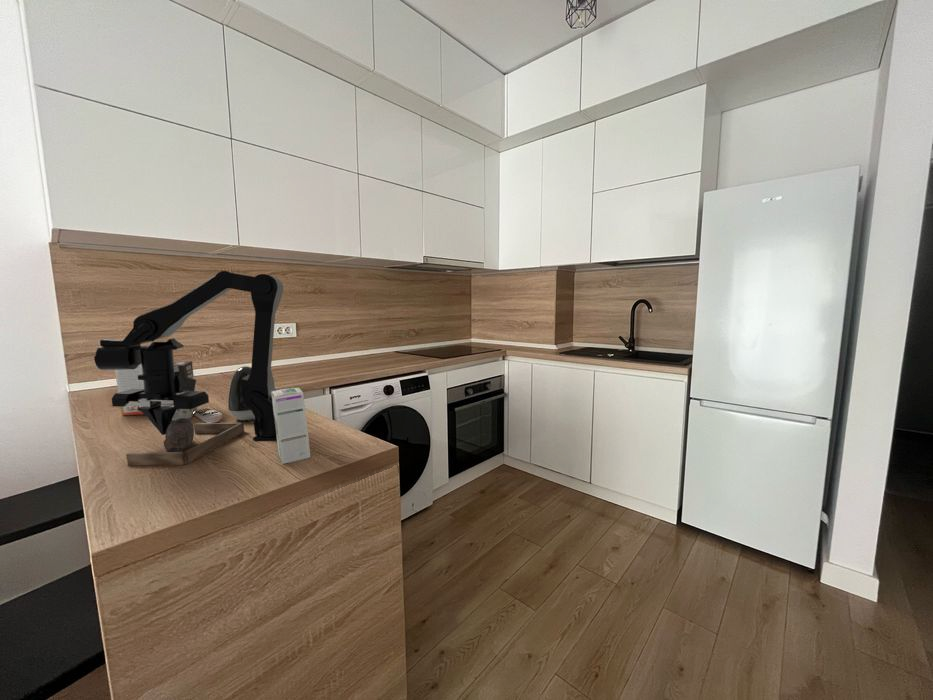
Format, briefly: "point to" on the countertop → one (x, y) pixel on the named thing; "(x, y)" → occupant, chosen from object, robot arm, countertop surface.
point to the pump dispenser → (234, 400)
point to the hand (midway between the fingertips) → (164, 434)
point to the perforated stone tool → (179, 435)
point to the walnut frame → (188, 456)
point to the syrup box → (290, 425)
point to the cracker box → (130, 387)
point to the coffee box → (185, 372)
